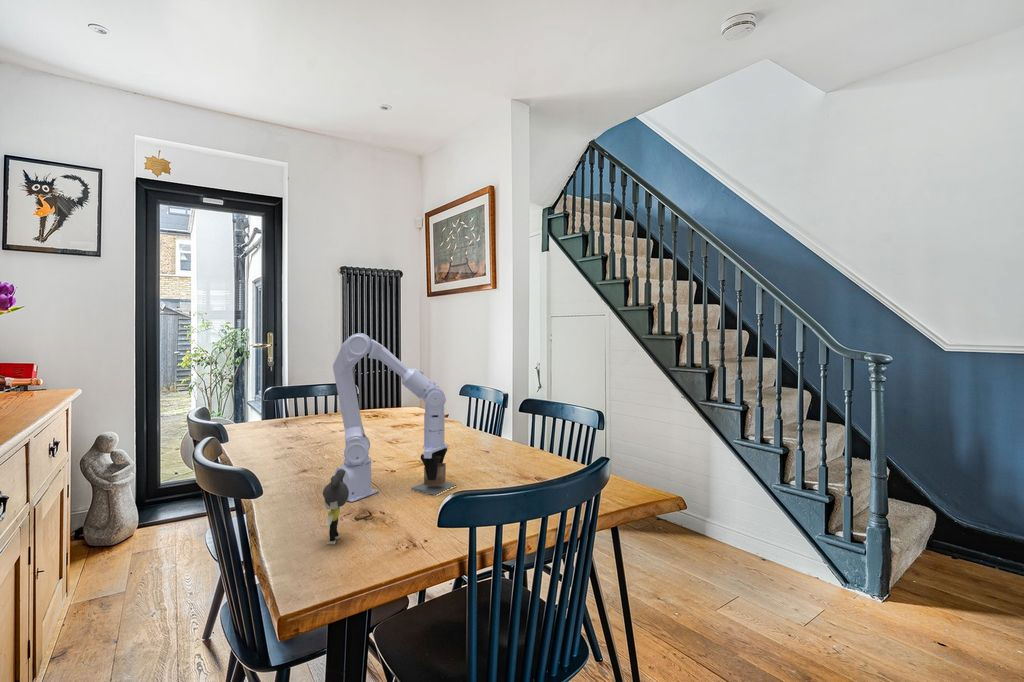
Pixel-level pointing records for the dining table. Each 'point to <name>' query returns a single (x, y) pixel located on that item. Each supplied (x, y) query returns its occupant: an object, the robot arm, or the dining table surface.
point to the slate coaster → (433, 488)
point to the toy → (335, 502)
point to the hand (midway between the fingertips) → (434, 476)
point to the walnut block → (439, 478)
